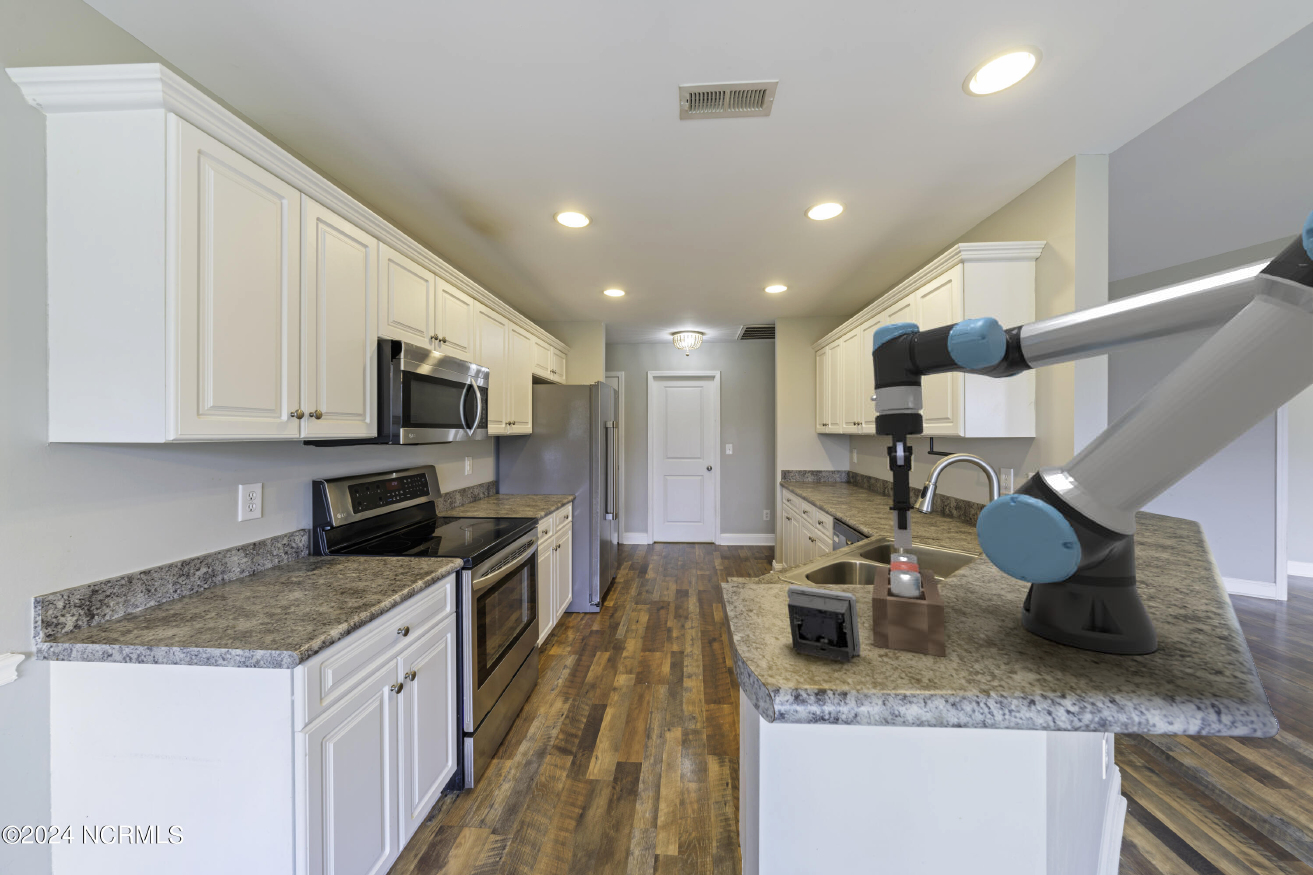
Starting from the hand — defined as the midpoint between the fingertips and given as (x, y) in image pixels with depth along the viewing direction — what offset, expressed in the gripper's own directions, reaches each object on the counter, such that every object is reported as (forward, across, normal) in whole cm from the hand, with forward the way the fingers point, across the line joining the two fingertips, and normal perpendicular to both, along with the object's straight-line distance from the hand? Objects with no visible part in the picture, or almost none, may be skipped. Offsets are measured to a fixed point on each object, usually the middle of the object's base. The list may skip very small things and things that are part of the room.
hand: (903, 547), depth 82 cm
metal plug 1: (+7, 0, 0) cm, 7 cm away
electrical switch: (+12, +23, -11) cm, 28 cm away
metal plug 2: (+7, +13, 0) cm, 15 cm away
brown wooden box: (+11, +6, 0) cm, 13 cm away
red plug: (+7, +7, 0) cm, 10 cm away
